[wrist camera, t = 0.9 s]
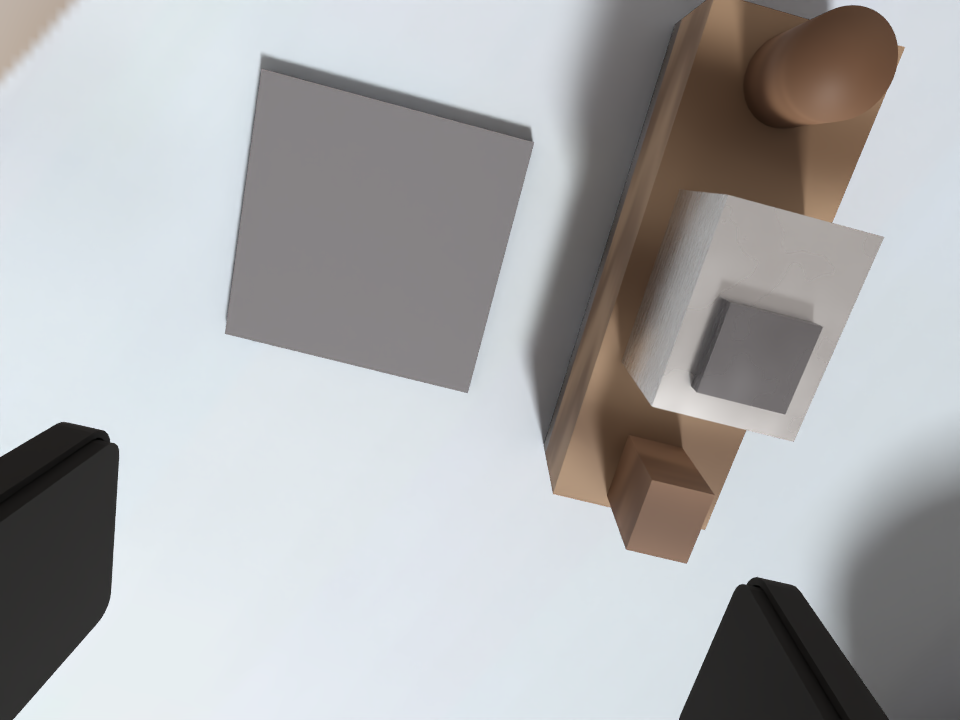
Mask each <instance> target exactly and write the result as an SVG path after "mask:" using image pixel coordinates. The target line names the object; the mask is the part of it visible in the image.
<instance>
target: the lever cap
mask: <svg viewBox="0 0 960 720" xmlns="http://www.w3.org/2000/svg"><path fill="white" fill-rule="evenodd" d="M883 238H884V237H882V236H878V235H875V234H871V233H867V232H864V231H860V230H856V229H853V228H849V227H845V226H841V225H838V224H834V223H830V222H827V221H823V220H819V219H816V218H812V217H808V216H805V215H801V214H797V213H793V212H790V211H786V210H782V209H779V208H775V207H771V206H768V205H764V204H760V203H756V202H753V201H749V200H745V199H742V198H738V197H734V196H731V195H725V194H716V193H707V192H698V191H689V190H679V193H678V196H677V199H676V202H675V205H674V208H673V211H672V214H671V217H670V219H669V222H668V225H667V228H666V231H665V234H664V237H663V240H662V243H661V246H660V249H659V252H658V255H657V258H656V261H655V264H654V267H653V270H652V273H651V276H650V279H649V282H648V285H647V288H646V291H645V293H644V296H643V299H642V302H641V305H640V308H639V311H638V314H637V317H636V320H635V323H634V326H633V329H632V332H631V335H630V338H629V341H628V344H627V347H626V350H625V353H624V356H623V359H622V363H623V365H624V366H625V368H626V369H627V371H628V372H629V374H630V375H631V377H632V378H633V380H634V381H635V383H636V384H637V386H638V387H639V388H640V390H641V391H642V393H643V394H644V396H645V397H646V399H647V400H648V402H649V403H650V405H651V406H652V407H656V408H660V409H664V410H668V411H672V412H676V413H680V414H684V415H688V416H692V417H696V418H700V419H704V420H708V421H712V422H716V423H720V424H724V425H728V426H732V427H736V428H740V429H744V430H748V431H752V432H756V433H760V434H765V435H769V436H773V437H777V438H781V439H785V440H789V441H793V442H794V440H795V438H796V435H797V433H798V431H799V429H800V426H801V424H802V422H803V420H804V417H805V415H806V413H807V410H808V408H809V406H810V404H811V401H812V399H813V397H814V395H815V392H816V390H817V388H818V386H819V383H820V381H821V379H822V376H823V374H824V372H825V370H826V367H827V365H828V363H829V361H830V358H831V356H832V354H833V352H834V349H835V347H836V345H837V343H838V340H839V338H840V336H841V333H842V331H843V329H844V327H845V324H846V322H847V320H848V318H849V315H850V313H851V311H852V309H853V306H854V304H855V302H856V300H857V297H858V295H859V293H860V290H861V288H862V286H863V284H864V281H865V279H866V277H867V275H868V272H869V270H870V268H871V266H872V263H873V261H874V259H875V256H876V254H877V252H878V250H879V247H880V245H881V243H882V241H883Z"/></svg>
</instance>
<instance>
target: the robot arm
mask: <svg viewBox="0 0 960 720" xmlns="http://www.w3.org/2000/svg"><path fill="white" fill-rule="evenodd" d="M118 465H119V449H118V446H117V445H116V444H115V443H110V438H109V436H108V434H107V433H106V432H105V431H103V430H99V429H94V428H90V427H85V426H81V425H76V424H72V423H67V422H61V423H58V424H56V425H54V426H52V427H51V428H49V429H47V430H46V431H44V432H42V433H40V434H39V435H37V436H35V437H34V438H32V439H30V440H29V441H27V442H25V443H23V444H22V445H20V446H18V447H17V448H15V449H13V450H12V451H10V452H8V453H7V454H5V455H3V456H1V457H0V720H13V719H14V718H15V717H16V716H17V714H18V713H19V712H20V711H21V710H22V709H23V708H24V706H25V705H26V704H27V703H28V702H29V701H30V700H31V698H32V697H33V696H34V695H35V694H36V693H37V692H38V690H39V689H40V688H41V687H42V686H43V685H44V684H45V682H46V681H47V680H48V679H49V678H50V677H51V676H52V675H53V673H54V672H55V671H56V670H57V669H58V668H59V667H60V665H61V664H62V663H63V662H64V661H65V660H66V659H67V657H68V656H69V655H70V654H71V653H72V652H73V651H74V649H75V648H76V647H77V646H78V645H79V644H80V643H81V641H82V640H83V639H84V638H85V637H86V636H87V635H88V633H89V632H90V631H91V630H92V629H93V628H94V627H95V625H96V624H97V623H98V622H99V620H100V619H101V618H102V616H103V614H104V613H105V611H106V608H107V606H108V603H109V600H110V595H111V583H112V566H113V549H114V532H115V516H116V499H117V482H118ZM679 720H889V719H888V718H887V716H886V715H885V713H884V712H883V710H882V709H881V707H880V706H879V705H878V703H877V702H876V700H875V699H874V697H873V696H872V694H871V693H870V692H869V690H868V689H867V687H866V686H865V684H864V683H863V681H862V680H861V679H860V677H859V676H858V674H857V673H856V671H855V670H854V668H853V667H852V666H851V664H850V663H849V661H848V660H847V658H846V657H845V655H844V654H843V653H842V651H841V650H840V648H839V647H838V645H837V644H836V642H835V641H834V640H833V638H832V637H831V635H830V634H829V632H828V631H827V629H826V628H825V626H824V625H823V624H822V622H821V621H820V619H819V618H818V616H817V615H816V613H815V612H814V611H813V609H812V608H811V606H810V605H809V603H808V602H807V600H806V599H805V598H804V596H803V595H802V593H801V592H800V591H799V590H798V589H797V588H796V587H795V586H793V585H789V584H785V583H781V582H776V581H772V580H767V579H763V578H758V577H756V578H752V579H751V580H750V581H749V582H748V583H747V585H745V584H741V585H739V586H738V587H737V588H736V589H735V591H734V593H733V595H732V597H731V600H730V602H729V604H728V607H727V609H726V611H725V614H724V616H723V618H722V620H721V623H720V625H719V627H718V630H717V632H716V634H715V637H714V639H713V641H712V644H711V646H710V648H709V650H708V653H707V655H706V657H705V660H704V662H703V664H702V667H701V669H700V671H699V674H698V676H697V678H696V680H695V683H694V685H693V687H692V690H691V692H690V694H689V697H688V699H687V701H686V703H685V706H684V708H683V710H682V713H681V715H680V718H679Z"/></svg>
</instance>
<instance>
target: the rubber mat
mask: <svg viewBox="0 0 960 720" xmlns="http://www.w3.org/2000/svg"><path fill="white" fill-rule="evenodd" d="M533 145H534V142H531V141H527V140H524V139H520V138H516V137H513V136H509V135H505V134H502V133H498V132H494V131H490V130H487V129H483V128H479V127H476V126H472V125H468V124H465V123H461V122H457V121H454V120H450V119H446V118H442V117H439V116H435V115H431V114H428V113H424V112H420V111H417V110H413V109H409V108H405V107H402V106H398V105H394V104H391V103H387V102H383V101H380V100H376V99H372V98H369V97H365V96H361V95H357V94H354V93H350V92H346V91H343V90H339V89H335V88H332V87H328V86H324V85H320V84H317V83H313V82H309V81H306V80H302V79H298V78H295V77H291V76H287V75H284V74H280V73H276V72H272V71H269V70H265V69H261V76H260V83H259V90H258V98H257V105H256V112H255V119H254V127H253V134H252V141H251V148H250V156H249V163H248V170H247V178H246V185H245V192H244V199H243V207H242V214H241V221H240V228H239V236H238V243H237V250H236V257H235V265H234V272H233V279H232V286H231V294H230V301H229V308H228V316H227V323H226V330H225V334H228V335H232V336H237V337H241V338H245V339H249V340H253V341H257V342H261V343H265V344H269V345H273V346H277V347H281V348H286V349H290V350H294V351H298V352H302V353H306V354H310V355H314V356H318V357H322V358H326V359H331V360H335V361H339V362H343V363H347V364H351V365H355V366H359V367H363V368H367V369H371V370H375V371H380V372H384V373H388V374H392V375H396V376H400V377H404V378H408V379H412V380H416V381H420V382H424V383H429V384H433V385H437V386H441V387H445V388H449V389H453V390H457V391H461V392H465V393H468V390H469V386H470V382H471V379H472V375H473V371H474V367H475V363H476V360H477V356H478V352H479V348H480V345H481V341H482V337H483V333H484V330H485V326H486V322H487V318H488V314H489V311H490V307H491V303H492V299H493V296H494V292H495V288H496V284H497V281H498V277H499V273H500V269H501V265H502V262H503V258H504V254H505V250H506V247H507V243H508V239H509V235H510V231H511V228H512V224H513V220H514V216H515V213H516V209H517V205H518V201H519V198H520V194H521V190H522V186H523V182H524V179H525V175H526V171H527V167H528V164H529V160H530V156H531V152H532V149H533Z"/></svg>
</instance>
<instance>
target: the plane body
mask: <svg viewBox="0 0 960 720" xmlns="http://www.w3.org/2000/svg"><path fill="white" fill-rule="evenodd" d="M904 48H905V47H902V46H898V45H897V40H896V37H895V34H894V31H893V29H892V27H891V26H890V24H889V23H888V22H887V20H886V19H885V18H884V17H883V16H882V15H880V14H879V13H878V12H876V11H874V10H872V9H870V8H867V7H863V6H855V5H850V6H843V7H838V8H835V9H833V10H830V11H828V12H826V13H824V14H822V15H819V16H817V17H815V18H813V19H811V20H809V19H805V18H802V17H798V16H795V15H792V14H788V13H785V12H781V11H778V10H774V9H771V8H767V7H764V6H761V5H757V4H754V3H750V2H747V1H743V0H706V1H705V2H703V3H702V4H701V5H699V6H698V7H697V8H696V9H694V10H693V11H692V12H690V13H689V14H688V15H687V16H685V17H684V18H683V19H681V20H680V21H679V22H678V23H676V24H675V26H674V29H673V32H672V36H671V39H670V42H669V45H668V48H667V52H666V55H665V58H664V61H663V64H662V68H661V71H660V74H659V77H658V80H657V84H656V87H655V90H654V93H653V96H652V100H651V103H650V106H649V109H648V112H647V116H646V119H645V122H644V125H643V129H642V132H641V135H640V138H639V141H638V145H637V148H636V151H635V154H634V157H633V161H632V164H631V167H630V170H629V173H628V177H627V180H626V183H625V186H624V189H623V193H622V196H621V199H620V202H619V205H618V209H617V212H616V215H615V218H614V221H613V225H612V228H611V231H610V234H609V237H608V241H607V244H606V247H605V250H604V254H603V257H602V260H601V263H600V266H599V270H598V273H597V276H596V279H595V282H594V286H593V289H592V292H591V295H590V298H589V302H588V305H587V308H586V311H585V314H584V318H583V321H582V324H581V327H580V330H579V334H578V337H577V340H576V343H575V346H574V350H573V353H572V356H571V359H570V362H569V366H568V369H567V372H566V375H565V378H564V382H563V385H562V388H561V391H560V395H559V398H558V401H557V404H556V407H555V411H554V414H553V417H552V420H551V423H550V427H549V430H548V433H547V436H546V439H545V443H544V450H545V455H546V460H547V465H548V470H549V475H550V481H551V486H552V491H553V494H556V495H560V496H564V497H569V498H573V499H577V500H581V501H585V502H590V503H594V504H598V505H602V506H607V507H611V509H612V512H613V514H614V517H615V520H616V523H617V526H618V528H619V531H620V534H621V537H622V540H623V542H624V545H625V548H626V550H631V551H635V552H639V553H643V554H648V555H652V556H656V557H661V558H665V559H669V560H673V561H678V562H682V563H686V564H687V562H688V559H689V557H690V555H691V552H692V550H693V547H694V545H695V542H696V540H697V538H698V535H699V533H700V530H701V529H704V530H705V528H706V526H707V524H708V521H709V519H710V516H711V514H712V512H713V509H714V507H715V504H716V502H717V500H718V497H719V495H720V492H721V490H722V487H723V485H724V483H725V480H726V478H727V475H728V473H729V471H730V468H731V466H732V463H733V461H734V458H735V456H736V454H737V451H738V449H739V446H740V444H741V442H742V439H743V437H744V434H745V432H746V430H744V429H740V428H736V427H732V426H728V425H724V424H720V423H716V422H712V421H708V420H704V419H700V418H696V417H692V416H688V415H684V414H680V413H676V412H672V411H668V410H664V409H660V408H656V407H652V406H651V405H650V403H649V402H648V400H647V399H646V397H645V396H644V394H643V393H642V391H641V390H640V388H639V387H638V386H637V384H636V383H635V381H634V380H633V378H632V377H631V375H630V374H629V372H628V371H627V369H626V368H625V366H624V365H623V363H622V359H623V356H624V353H625V350H626V347H627V344H628V341H629V338H630V335H631V332H632V329H633V326H634V323H635V320H636V317H637V314H638V311H639V308H640V305H641V302H642V299H643V296H644V293H645V291H646V288H647V285H648V282H649V279H650V276H651V273H652V270H653V267H654V264H655V261H656V258H657V255H658V252H659V249H660V246H661V243H662V240H663V237H664V234H665V231H666V228H667V225H668V222H669V219H670V217H671V214H672V211H673V208H674V205H675V202H676V199H677V196H678V193H679V190H689V191H698V192H707V193H716V194H725V195H731V196H734V197H738V198H742V199H745V200H749V201H753V202H756V203H760V204H764V205H768V206H771V207H775V208H779V209H782V210H786V211H790V212H793V213H797V214H801V215H805V216H808V217H812V218H816V219H819V220H823V221H827V222H830V223H832V222H833V220H834V217H835V215H836V212H837V210H838V208H839V205H840V203H841V200H842V198H843V196H844V193H845V191H846V188H847V186H848V183H849V181H850V179H851V176H852V174H853V171H854V169H855V167H856V164H857V162H858V159H859V157H860V154H861V152H862V150H863V147H864V145H865V142H866V140H867V138H868V135H869V133H870V130H871V128H872V126H873V123H874V121H875V118H876V116H877V113H878V111H879V109H880V106H881V104H882V101H883V99H884V97H885V94H886V92H887V89H888V88H889V86H890V84H891V82H892V80H893V77H894V75H895V72H896V68H897V65H898V63H899V60H900V58H901V56H902V53H903V51H904Z"/></svg>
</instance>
